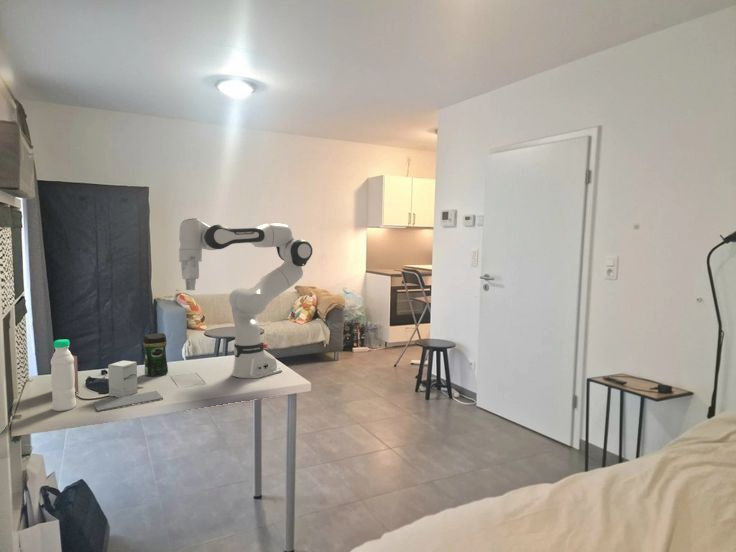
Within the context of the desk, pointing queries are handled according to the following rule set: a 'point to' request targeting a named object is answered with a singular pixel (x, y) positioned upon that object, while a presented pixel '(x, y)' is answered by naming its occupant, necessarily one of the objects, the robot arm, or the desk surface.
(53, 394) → the water bottle
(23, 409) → the desk surface
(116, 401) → the mat
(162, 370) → the coffee jar
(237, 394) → the desk surface
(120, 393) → the supplement box
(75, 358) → the greeting card
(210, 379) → the desk surface
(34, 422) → the desk surface
